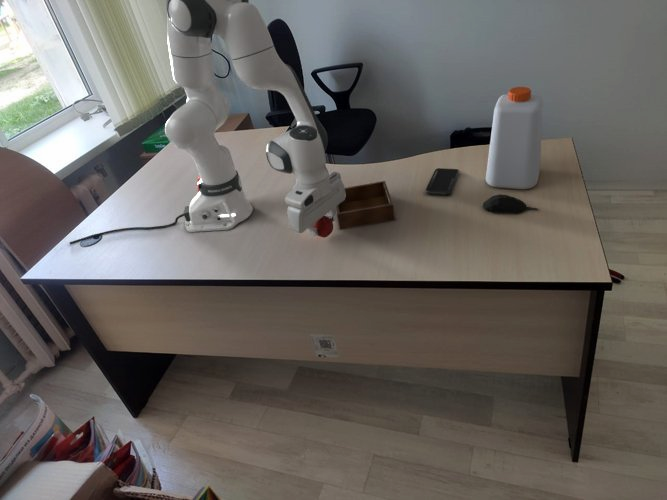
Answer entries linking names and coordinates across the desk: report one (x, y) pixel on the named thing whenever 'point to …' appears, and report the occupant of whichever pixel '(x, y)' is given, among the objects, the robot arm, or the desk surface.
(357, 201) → the wooden box
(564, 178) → the desk surface
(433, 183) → the phone
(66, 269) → the desk surface
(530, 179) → the plastic bottle
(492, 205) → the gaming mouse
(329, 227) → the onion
